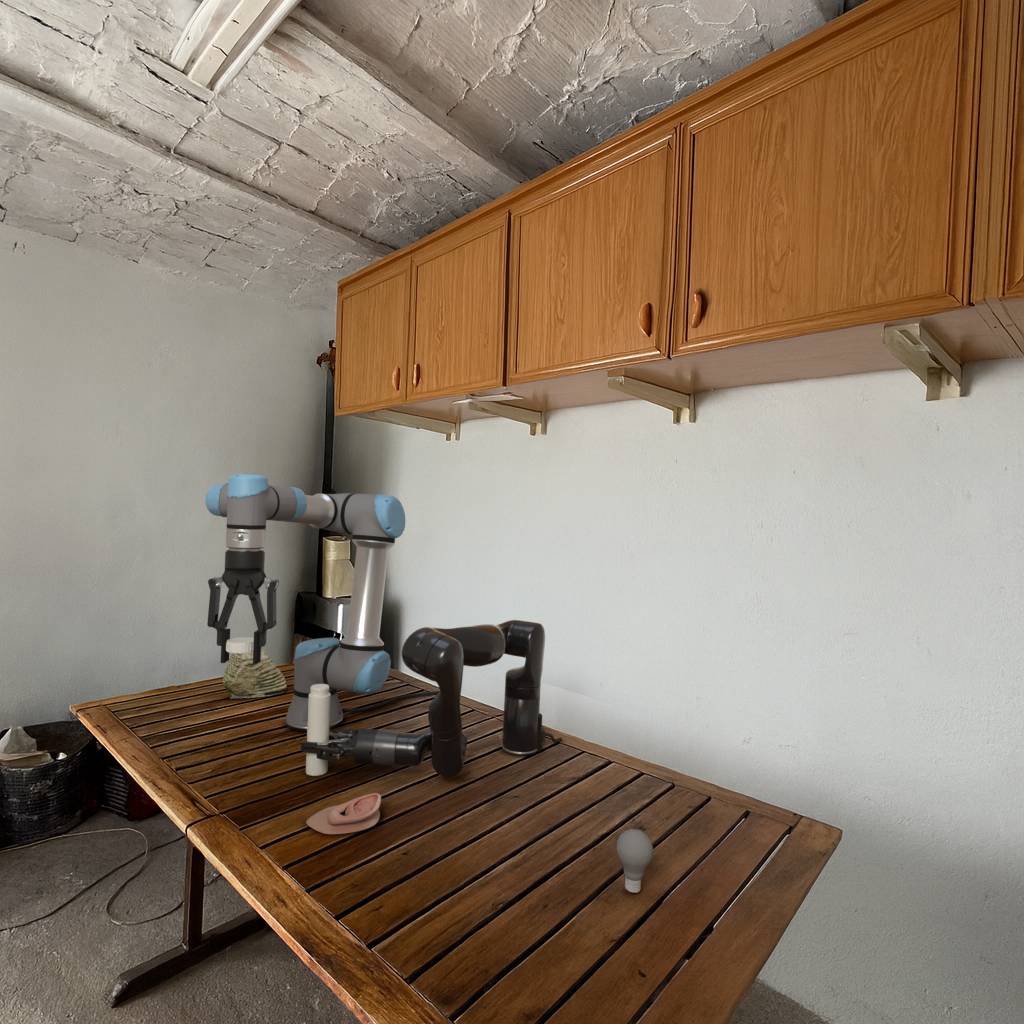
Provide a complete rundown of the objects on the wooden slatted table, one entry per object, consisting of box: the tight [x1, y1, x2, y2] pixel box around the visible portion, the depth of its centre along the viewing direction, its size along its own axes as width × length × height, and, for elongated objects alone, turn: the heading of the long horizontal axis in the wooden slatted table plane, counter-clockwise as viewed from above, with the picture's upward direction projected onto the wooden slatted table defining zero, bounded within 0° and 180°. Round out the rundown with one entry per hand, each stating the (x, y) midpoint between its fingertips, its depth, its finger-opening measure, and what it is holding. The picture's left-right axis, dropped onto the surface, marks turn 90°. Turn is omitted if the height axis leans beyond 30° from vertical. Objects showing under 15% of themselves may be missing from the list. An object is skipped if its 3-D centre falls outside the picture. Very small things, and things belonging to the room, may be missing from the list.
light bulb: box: [615, 828, 654, 894], centre depth 106 cm, size 6×6×10 cm
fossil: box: [222, 648, 288, 699], centre depth 198 cm, size 9×18×15 cm, turn 132°
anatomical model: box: [305, 792, 382, 835], centre depth 124 cm, size 13×4×12 cm
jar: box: [305, 684, 331, 777], centre depth 146 cm, size 5×5×20 cm
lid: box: [226, 636, 254, 654], centre depth 130 cm, size 6×6×2 cm
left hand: (240, 661), depth 130 cm, fingers closed on lid, 6 cm apart
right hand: (306, 742), depth 146 cm, fingers closed on jar, 5 cm apart
